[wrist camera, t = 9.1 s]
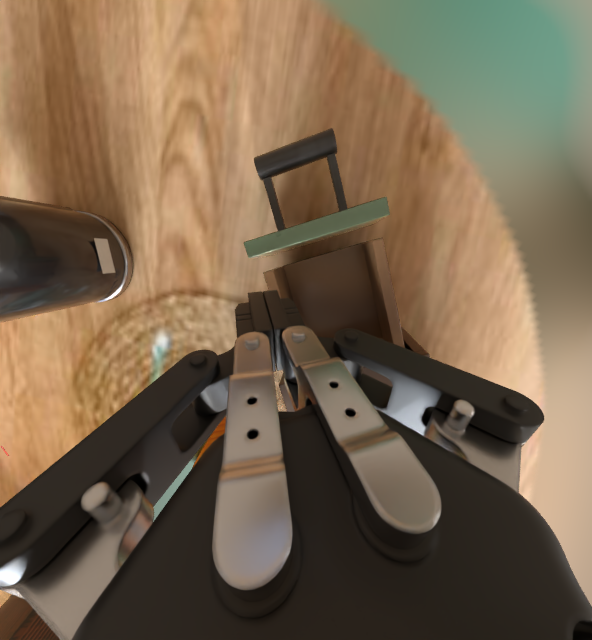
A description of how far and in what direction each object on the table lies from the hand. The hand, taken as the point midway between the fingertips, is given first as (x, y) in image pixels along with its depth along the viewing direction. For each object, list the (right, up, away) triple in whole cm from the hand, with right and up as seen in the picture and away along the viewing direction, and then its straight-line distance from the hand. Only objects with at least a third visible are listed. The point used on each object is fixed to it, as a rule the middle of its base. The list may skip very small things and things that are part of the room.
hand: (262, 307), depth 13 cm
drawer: (+4, +5, +11) cm, 13 cm away
